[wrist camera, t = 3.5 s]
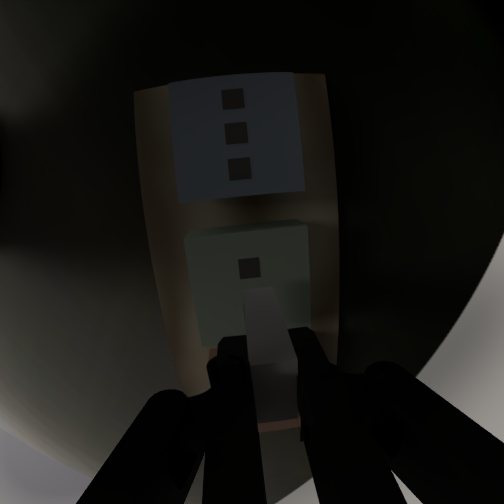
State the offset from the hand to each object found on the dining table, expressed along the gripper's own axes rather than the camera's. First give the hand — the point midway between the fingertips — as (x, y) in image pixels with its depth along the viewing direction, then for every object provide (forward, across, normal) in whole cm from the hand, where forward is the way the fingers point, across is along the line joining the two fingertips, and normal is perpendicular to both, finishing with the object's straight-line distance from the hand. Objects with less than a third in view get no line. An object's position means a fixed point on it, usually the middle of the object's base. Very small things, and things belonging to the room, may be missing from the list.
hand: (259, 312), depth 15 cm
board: (+8, 0, 0) cm, 8 cm away
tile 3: (+5, 0, +9) cm, 11 cm away
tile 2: (+5, 0, 0) cm, 5 cm away
